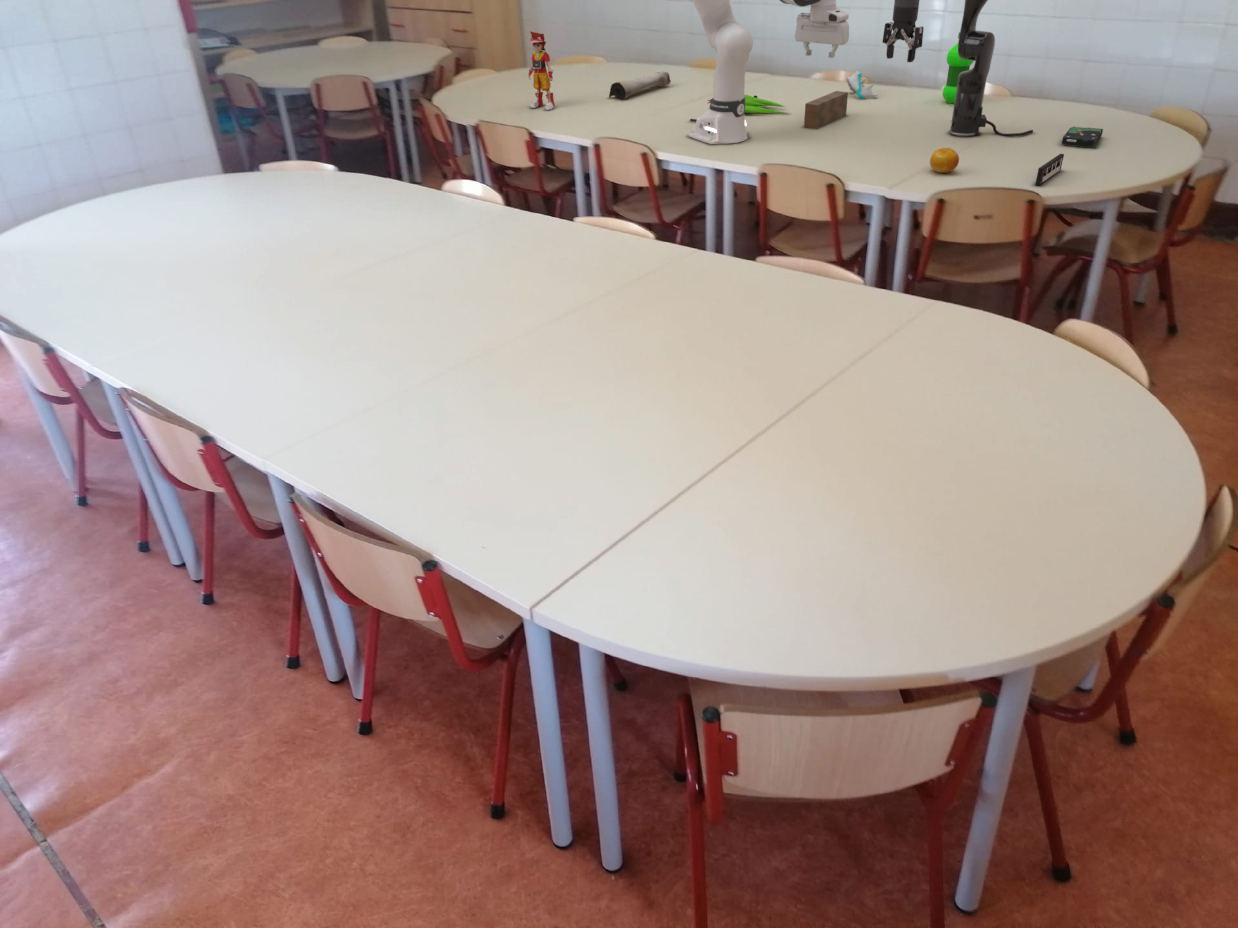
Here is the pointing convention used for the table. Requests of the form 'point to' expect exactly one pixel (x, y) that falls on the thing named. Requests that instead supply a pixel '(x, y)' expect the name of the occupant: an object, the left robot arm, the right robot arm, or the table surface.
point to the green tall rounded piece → (954, 73)
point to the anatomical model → (860, 86)
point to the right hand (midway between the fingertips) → (899, 60)
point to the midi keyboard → (1049, 169)
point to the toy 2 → (754, 105)
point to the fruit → (944, 160)
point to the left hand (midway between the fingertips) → (819, 56)
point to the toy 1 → (541, 71)
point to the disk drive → (1082, 136)
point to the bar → (825, 109)
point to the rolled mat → (638, 84)
